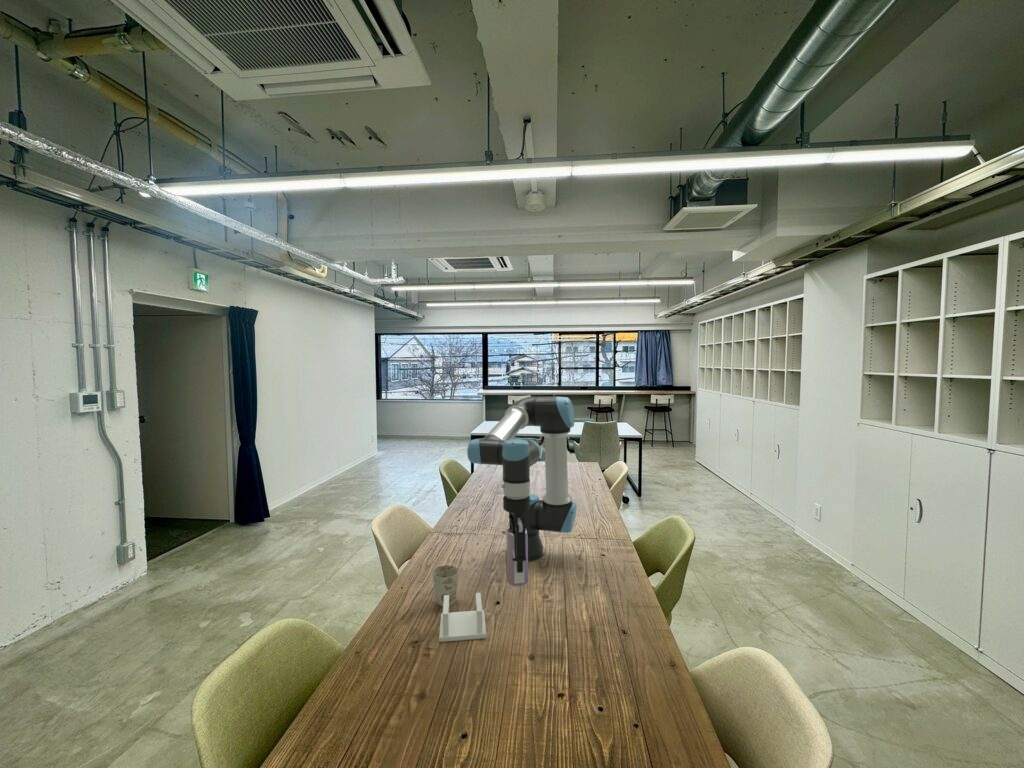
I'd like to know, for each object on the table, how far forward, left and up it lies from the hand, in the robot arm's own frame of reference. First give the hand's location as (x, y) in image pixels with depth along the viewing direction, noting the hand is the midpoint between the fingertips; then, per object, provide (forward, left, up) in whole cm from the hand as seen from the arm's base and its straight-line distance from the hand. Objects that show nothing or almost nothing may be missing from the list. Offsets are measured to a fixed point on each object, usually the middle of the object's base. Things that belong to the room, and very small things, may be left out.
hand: (517, 576), depth 119 cm
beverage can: (0, 0, -2) cm, 2 cm away
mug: (+5, -30, -17) cm, 35 cm away
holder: (+10, -13, -17) cm, 23 cm away
